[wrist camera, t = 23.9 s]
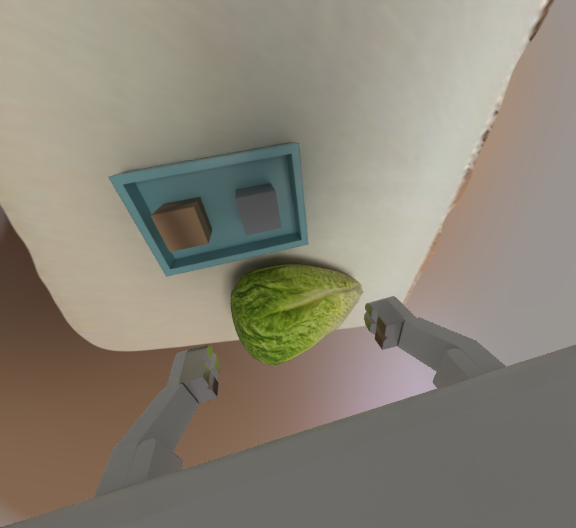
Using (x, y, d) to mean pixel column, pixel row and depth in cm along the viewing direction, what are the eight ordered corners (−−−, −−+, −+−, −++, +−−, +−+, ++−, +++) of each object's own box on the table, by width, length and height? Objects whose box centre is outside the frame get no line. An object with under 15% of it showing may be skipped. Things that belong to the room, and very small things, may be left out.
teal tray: (291, 142, 28) (298, 143, 25) (302, 234, 36) (308, 244, 33) (124, 171, 26) (108, 176, 23) (173, 262, 34) (166, 276, 31)
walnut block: (200, 196, 29) (193, 206, 24) (212, 229, 31) (208, 243, 27) (163, 203, 28) (150, 215, 24) (179, 236, 31) (169, 252, 27)
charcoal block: (270, 183, 30) (275, 190, 25) (276, 216, 32) (281, 227, 28) (235, 189, 29) (235, 198, 25) (244, 222, 32) (245, 235, 28)
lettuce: (335, 235, 43) (319, 289, 53) (218, 264, 32) (225, 325, 41) (395, 279, 34) (362, 334, 44) (260, 342, 22) (256, 398, 32)
